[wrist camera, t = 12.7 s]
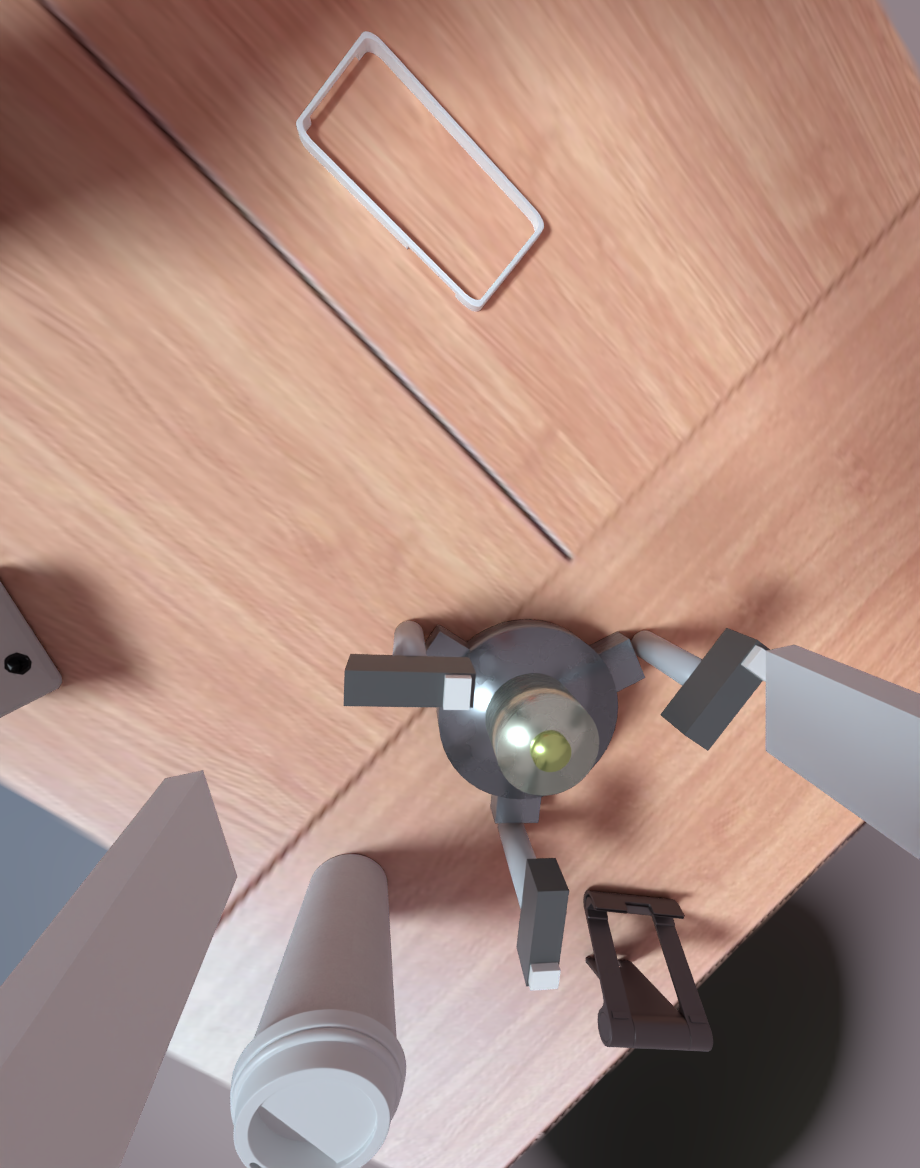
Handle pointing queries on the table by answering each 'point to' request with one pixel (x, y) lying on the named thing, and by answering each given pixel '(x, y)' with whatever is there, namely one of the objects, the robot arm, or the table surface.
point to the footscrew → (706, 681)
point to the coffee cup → (325, 1033)
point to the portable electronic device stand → (644, 981)
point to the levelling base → (520, 658)
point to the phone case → (378, 47)
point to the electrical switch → (21, 660)
